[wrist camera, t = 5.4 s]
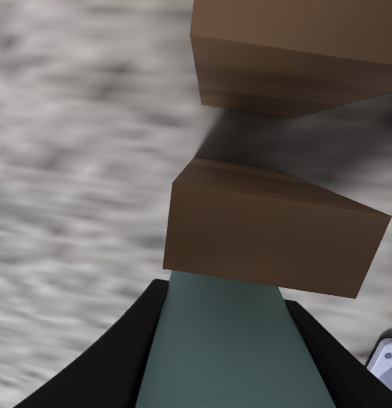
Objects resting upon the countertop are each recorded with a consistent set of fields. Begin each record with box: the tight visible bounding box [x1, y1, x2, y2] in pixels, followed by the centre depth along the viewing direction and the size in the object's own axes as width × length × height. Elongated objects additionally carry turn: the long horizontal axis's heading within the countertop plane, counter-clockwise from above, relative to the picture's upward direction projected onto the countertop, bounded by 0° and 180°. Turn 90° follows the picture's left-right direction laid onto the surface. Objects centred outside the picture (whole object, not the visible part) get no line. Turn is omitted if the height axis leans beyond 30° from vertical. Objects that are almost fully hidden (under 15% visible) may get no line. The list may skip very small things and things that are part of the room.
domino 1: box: [190, 0, 392, 118], centre depth 7 cm, size 2×4×7 cm, turn 82°
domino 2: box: [163, 157, 392, 299], centre depth 8 cm, size 2×4×7 cm, turn 82°
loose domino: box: [135, 270, 336, 408], centre depth 7 cm, size 2×4×7 cm, turn 81°
